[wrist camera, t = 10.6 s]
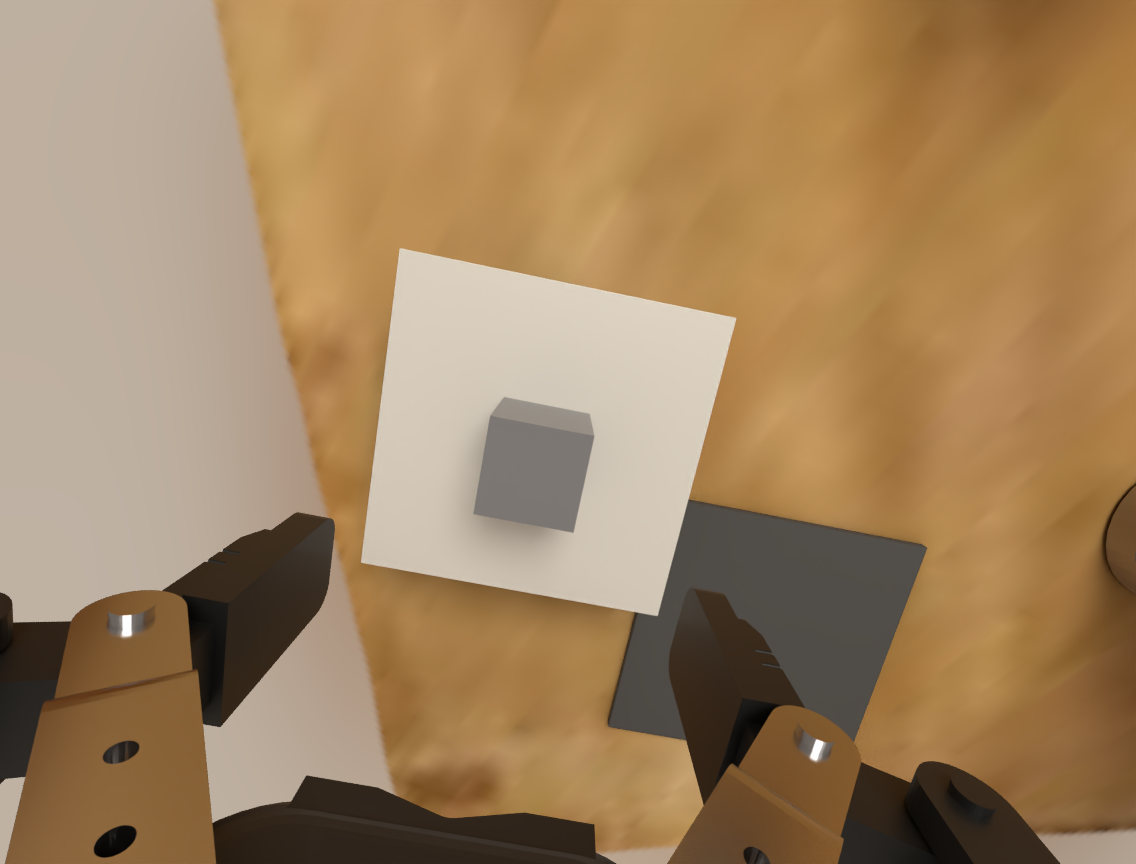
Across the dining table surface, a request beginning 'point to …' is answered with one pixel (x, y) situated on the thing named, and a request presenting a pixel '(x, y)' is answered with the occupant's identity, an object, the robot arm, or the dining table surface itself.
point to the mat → (776, 610)
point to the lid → (538, 432)
